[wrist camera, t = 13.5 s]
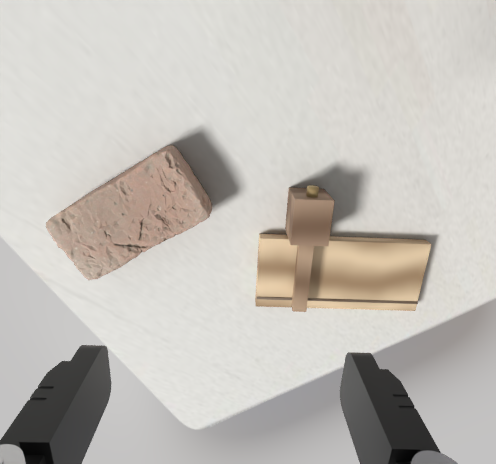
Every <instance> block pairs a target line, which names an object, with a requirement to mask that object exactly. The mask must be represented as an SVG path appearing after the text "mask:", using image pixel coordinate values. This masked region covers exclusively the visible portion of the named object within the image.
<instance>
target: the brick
mask: <svg viewBox="0 0 496 464" xmlns="http://www.w3.org/2000/svg"><path fill="white" fill-rule="evenodd" d="M211 211H212V204H211V201H210V199H209V197H208V195H207V193H206V192H205V190H204V189H203V187H202V186H201V184H200V182H199V181H198V179H197V178H196V177H195V175H194V174H193V171H192V169H191V168H190V166H189V164H188V163H187V162H186V161H185V160H184V158H183V157H182V155H181V153H180V152H179V151H178V150H177V148H176V147H175V146H173V145H170V146H166V147H164V148H162V149H161V150H159V151H158V152H156V153H154V154H153V155H151V156H149V157H148V158H146V159H145V160H143V161H142V162H140V163H138V164H136V165H134V166H133V167H131V168H130V169H128V170H126V171H125V172H123V173H122V174H120V175H119V176H117V177H116V178H114V179H112V180H110V181H109V182H107V183H105V184H104V185H102V186H100V187H98V188H97V189H95V190H93V191H92V192H90V193H88V194H87V195H85V196H84V197H82V198H81V199H79V200H78V201H76V202H75V203H74V204H72V205H70V206H69V207H67V208H66V209H64V210H62V211H61V212H60V213H58V214H57V215H55V216H53V217H52V218H51V219H50V220H49V221H48V222H46V228H47V230H48V232H49V233H50V235H51V236H52V238H53V240H54V241H55V242H56V244H57V246H58V247H59V248H61V249H63V250H64V252H65V253H66V254H67V256H68V258H69V259H71V260H72V261H73V262H74V265H75V266H76V268H77V269H78V270H79V271H80V272H81V273H82V274H83V276H84V277H85V278H87V279H88V280H92V279H98V278H100V277H102V276H103V275H105V274H108V273H110V272H111V271H113V270H116V269H118V268H120V267H121V266H123V265H124V264H126V263H127V262H129V261H130V260H132V259H133V258H136V257H137V256H138V255H139V254H140V253H141V252H142V251H143V252H145V251H147V250H148V249H149V248H151V247H153V246H155V245H157V244H160V243H161V242H163V241H165V240H167V239H169V238H172V237H174V236H175V235H178V234H181V233H182V232H184V231H186V230H188V229H190V228H192V227H194V226H195V225H197V224H198V223H199V222H203V221H204V220H206V219H207V218H209V217H210V213H211Z"/></svg>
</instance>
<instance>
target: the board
mask: <svg viewBox="0 0 496 464" xmlns="http://www.w3.org/2000/svg"><path fill="white" fill-rule="evenodd" d="M430 248H431V244H430V243H429V242H428V241H426V240H419V239H392V238H364V237H336V236H330V238H329V246H314V250H313V259H312V267H311V276H310V284H309V292H308V301H307V308H335V309H370V310H404V311H415V310H416V306H417V304H418V297H419V293H420V289H421V285H422V281H423V277H424V273H425V269H426V265H427V261H428V257H429V252H430ZM296 255H297V245H290V242H289V239H288V235H281V234H259V250H258V266H257V282H256V298H255V301H256V306H266V307H292V306H291V305H292V295H293V285H294V275H295V265H296Z"/></svg>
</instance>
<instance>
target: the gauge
mask: <svg viewBox="0 0 496 464" xmlns="http://www.w3.org/2000/svg"><path fill="white" fill-rule="evenodd" d="M333 208H334V200H333V199H332V197H331V196H330V195H329V194H328V193H327V192H326V191H325V189H319V187H318V186H314V185H309V186H307V188H290V187H289V192H288V203H287V215H286V227H285V229H286V232H287V235H288V239H289V242H290V245H297V255H296V265H295V275H294V285H293V295H292V305H291V306H292V310H293V311H299V312H306V309H307V301H308V292H309V284H310V276H311V267H312V259H313V250H314V246H329V238H330V231H331V223H332V216H333Z"/></svg>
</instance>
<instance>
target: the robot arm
mask: <svg viewBox="0 0 496 464" xmlns="http://www.w3.org/2000/svg"><path fill="white" fill-rule="evenodd" d="M110 392H111V377H110V368H109V360H108V350H107V347H106V346H93V345H82V346H80V348H79V349H78V350H77V352H76V353H75V355H74V357H73V358H72V360H71V361H62V362H60V363H59V364H58V365H57V366H55V367H54V368H53V369H52V370H50V371H49V372H48V373H47V374H46V376H45V377H44V379H43V380H42V381H41V383H40V384H39V386H38V389H36V390H35V391H34V393H33V394H32V396H31V397H30V400H29V401H27V403H26V404H25V406H24V407H23V409H22V410H21V411H20V413H19V414H18V416H17V417H16V419H15V420H14V422H13V423H12V424H11V426H10V427H9V429H8V430H7V432H6V433H5V434H4V436H3V437H2V439H1V440H0V464H82V461H83V459H84V457H85V454H86V452H87V449H88V447H89V445H90V443H91V440H92V438H93V436H94V433H95V431H96V429H97V426H98V424H99V422H100V419H101V417H102V415H103V413H104V410H105V408H106V406H107V403H108V400H109V397H110ZM340 400H341V406H342V409H343V413H344V416H345V419H346V422H347V425H348V428H349V431H350V434H351V437H352V440H353V443H354V446H355V449H356V452H357V455H358V458H359V462H360V464H457V463H456V462H455V461H454V460H452V459H451V458H449V457H448V456H446V455H444V454H441V453H440V451H439V449H438V447H437V445H436V444H435V442H434V440H433V438H432V437H431V435H430V433H429V431H428V429H427V428H426V426H425V424H424V422H423V421H422V419H421V417H420V415H419V413H418V412H417V410H416V409H415V408H414V405H413V403H412V401H411V399H410V398H409V397H408V394H407V392H406V390H405V389H404V387H403V385H402V383H401V381H400V380H398V379H397V378H396V377H395V376H394V375H393V374H392V373H391V372H390V371H389V370H386V369H385V370H383V369H379V367H378V365H377V363H376V361H375V359H374V358H373V356H372V354H371V353H347V355H346V358H345V364H344V370H343V375H342V381H341V387H340Z"/></svg>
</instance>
